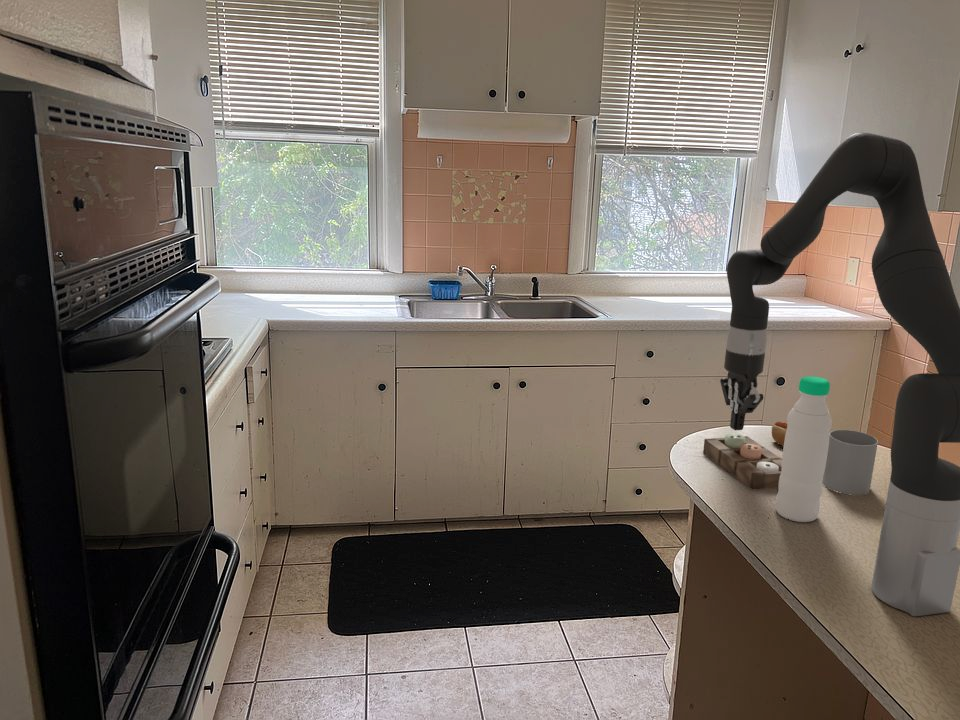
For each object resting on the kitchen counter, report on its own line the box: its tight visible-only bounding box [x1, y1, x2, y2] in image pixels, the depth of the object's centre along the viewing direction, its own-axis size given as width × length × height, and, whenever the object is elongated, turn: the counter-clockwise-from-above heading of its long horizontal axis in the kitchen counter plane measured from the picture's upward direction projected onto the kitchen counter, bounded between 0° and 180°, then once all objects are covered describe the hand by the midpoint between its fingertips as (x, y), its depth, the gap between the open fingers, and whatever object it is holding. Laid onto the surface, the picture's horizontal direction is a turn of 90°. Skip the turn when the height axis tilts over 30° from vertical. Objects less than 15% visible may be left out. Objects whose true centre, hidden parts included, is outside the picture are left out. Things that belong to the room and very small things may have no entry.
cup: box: [822, 429, 879, 496], centre depth 142 cm, size 8×8×10 cm
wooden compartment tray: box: [703, 435, 782, 491], centre depth 151 cm, size 19×10×3 cm, turn 12°
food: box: [771, 421, 788, 447], centre depth 160 cm, size 14×6×5 cm, turn 23°
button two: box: [724, 432, 746, 449], centre depth 156 cm, size 4×4×3 cm
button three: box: [740, 444, 762, 460], centre depth 150 cm, size 4×4×3 cm
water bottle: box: [774, 375, 833, 523], centre depth 128 cm, size 7×7×25 cm
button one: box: [757, 462, 779, 472], centre depth 145 cm, size 4×4×3 cm
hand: (736, 428), depth 155 cm, fingers closed
